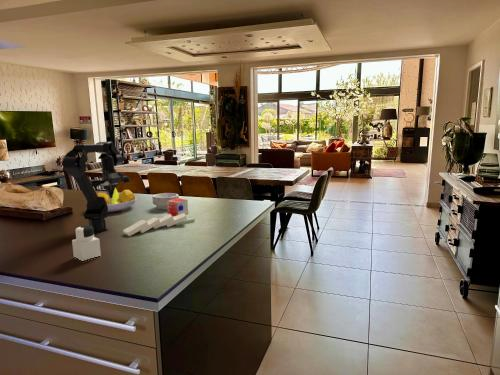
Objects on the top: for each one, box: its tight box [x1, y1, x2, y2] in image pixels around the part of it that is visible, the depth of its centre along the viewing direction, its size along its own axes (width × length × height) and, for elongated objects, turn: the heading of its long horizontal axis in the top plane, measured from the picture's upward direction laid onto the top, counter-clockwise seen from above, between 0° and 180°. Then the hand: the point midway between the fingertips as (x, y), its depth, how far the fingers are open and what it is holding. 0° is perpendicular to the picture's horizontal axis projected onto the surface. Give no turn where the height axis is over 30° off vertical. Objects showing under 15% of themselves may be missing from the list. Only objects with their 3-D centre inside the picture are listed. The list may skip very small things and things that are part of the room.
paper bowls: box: [152, 192, 180, 211], centre depth 203 cm, size 15×15×8 cm
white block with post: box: [71, 224, 102, 262], centre depth 128 cm, size 7×7×12 cm
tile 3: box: [152, 213, 174, 230], centre depth 166 cm, size 2×5×10 cm
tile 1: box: [122, 219, 148, 237], centre depth 157 cm, size 2×5×10 cm
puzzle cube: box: [166, 198, 189, 217], centre depth 188 cm, size 8×8×8 cm
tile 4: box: [166, 213, 188, 228], centre depth 168 cm, size 2×5×10 cm
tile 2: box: [138, 216, 161, 234], centre depth 161 cm, size 2×5×10 cm
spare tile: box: [174, 216, 195, 226], centre depth 173 cm, size 2×5×10 cm
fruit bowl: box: [96, 187, 137, 213], centre depth 203 cm, size 28×27×11 cm
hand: (111, 198), depth 172 cm, fingers closed
